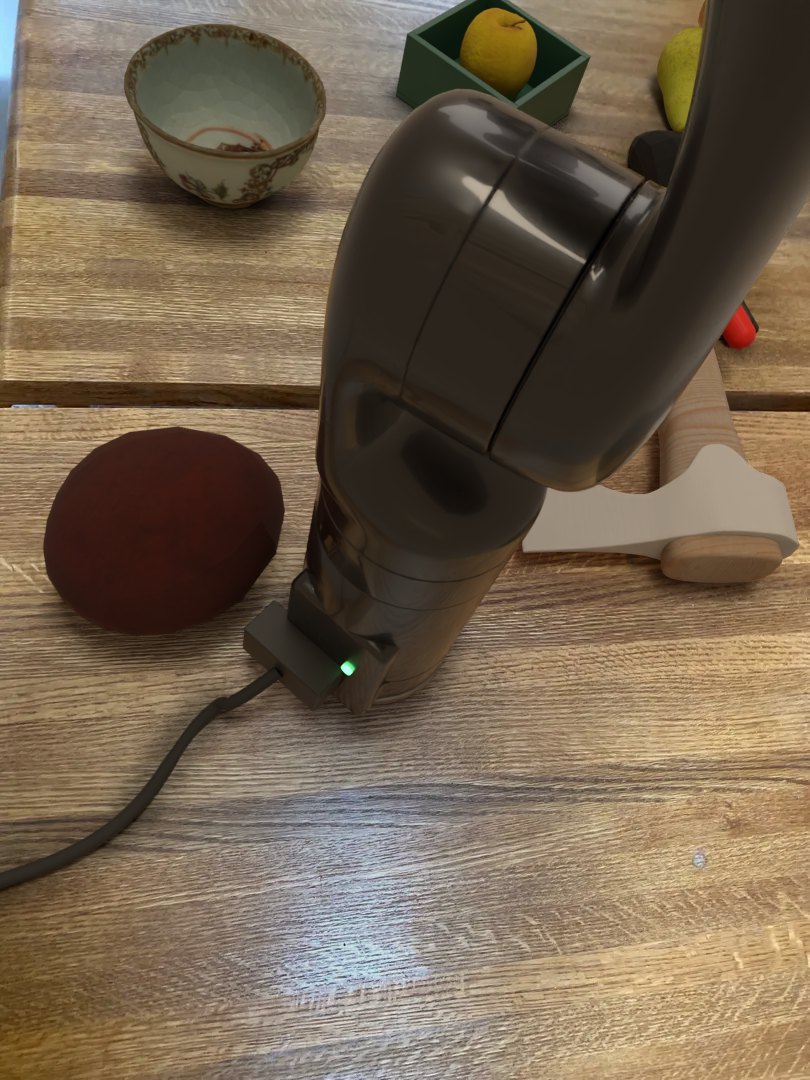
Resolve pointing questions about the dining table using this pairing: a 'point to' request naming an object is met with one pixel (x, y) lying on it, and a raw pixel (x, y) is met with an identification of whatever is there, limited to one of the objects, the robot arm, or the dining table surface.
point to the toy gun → (741, 328)
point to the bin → (438, 70)
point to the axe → (683, 501)
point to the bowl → (225, 110)
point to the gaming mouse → (655, 155)
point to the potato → (162, 530)
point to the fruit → (679, 75)
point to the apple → (500, 51)
